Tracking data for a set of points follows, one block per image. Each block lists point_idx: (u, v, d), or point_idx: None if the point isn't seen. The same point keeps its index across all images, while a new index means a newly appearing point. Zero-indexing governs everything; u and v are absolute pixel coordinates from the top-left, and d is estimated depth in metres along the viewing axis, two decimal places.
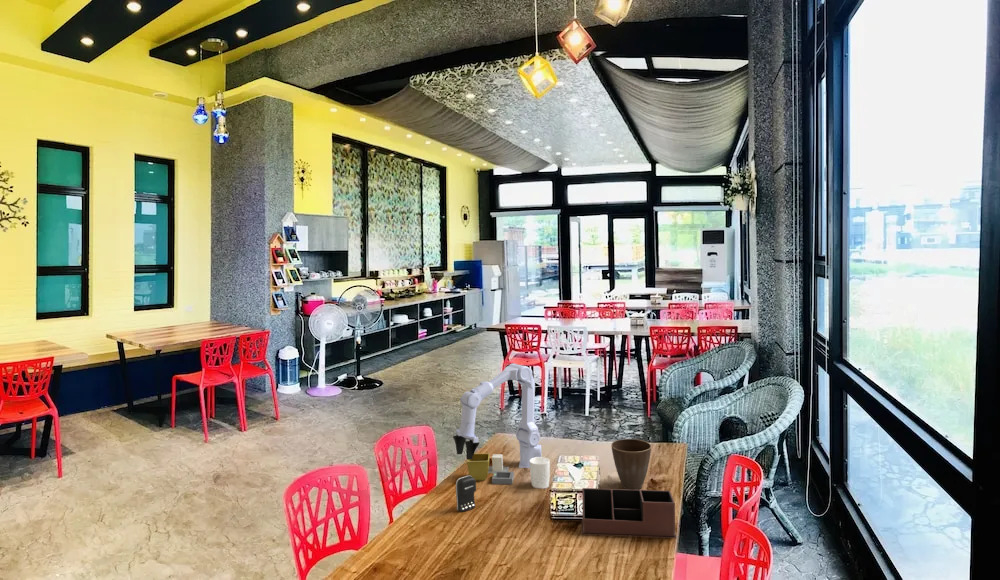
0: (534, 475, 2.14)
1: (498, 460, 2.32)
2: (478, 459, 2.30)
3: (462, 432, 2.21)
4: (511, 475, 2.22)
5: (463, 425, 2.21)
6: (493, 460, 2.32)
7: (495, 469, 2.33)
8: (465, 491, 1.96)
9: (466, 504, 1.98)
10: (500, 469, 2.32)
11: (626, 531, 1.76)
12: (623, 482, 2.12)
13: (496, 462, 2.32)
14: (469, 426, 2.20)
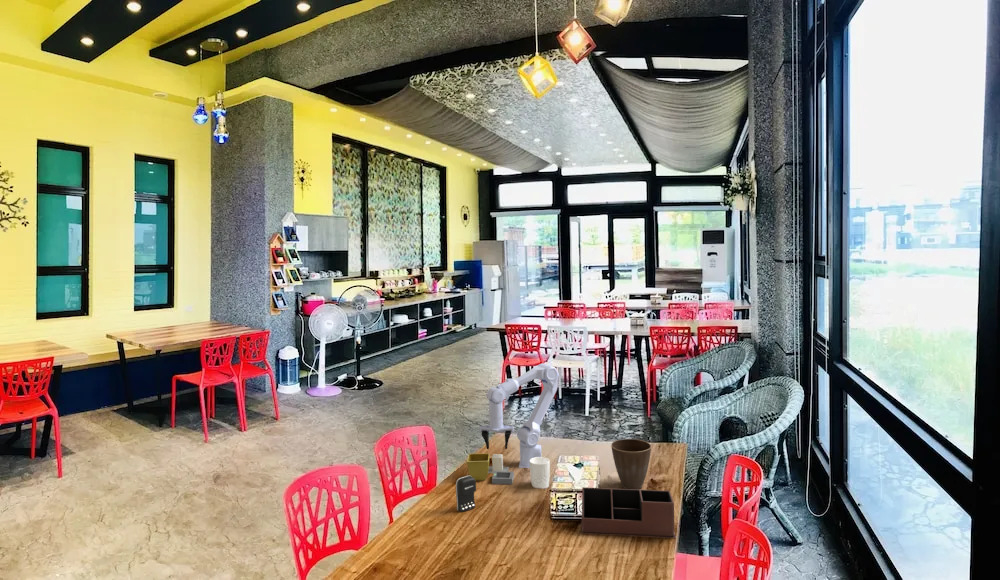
0: (534, 475, 2.14)
1: (498, 460, 2.32)
2: (478, 459, 2.30)
3: (497, 427, 2.31)
4: (511, 475, 2.22)
5: (497, 420, 2.31)
6: (493, 460, 2.32)
7: (495, 469, 2.33)
8: (465, 491, 1.96)
9: (466, 504, 1.98)
10: (500, 469, 2.32)
11: (625, 531, 1.76)
12: (623, 482, 2.12)
13: (496, 462, 2.32)
14: (502, 419, 2.32)
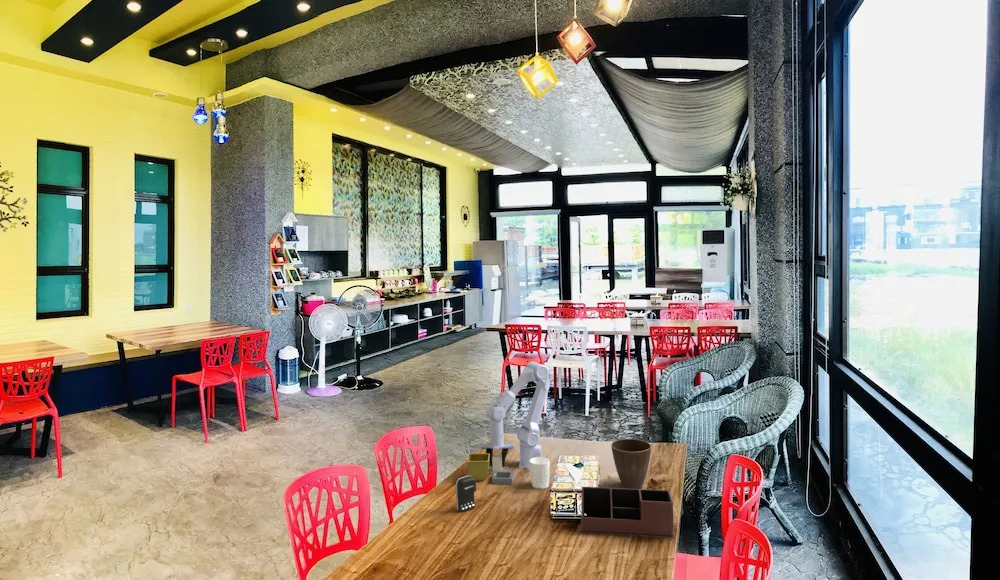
0: (534, 475, 2.14)
1: (498, 460, 2.32)
2: (478, 459, 2.30)
3: (498, 445, 2.31)
4: (511, 475, 2.22)
5: (498, 438, 2.31)
6: (493, 460, 2.32)
7: (495, 469, 2.33)
8: (465, 491, 1.96)
9: (466, 504, 1.98)
10: (500, 469, 2.32)
11: (624, 530, 1.77)
12: (623, 482, 2.12)
13: (496, 462, 2.32)
14: (502, 437, 2.33)
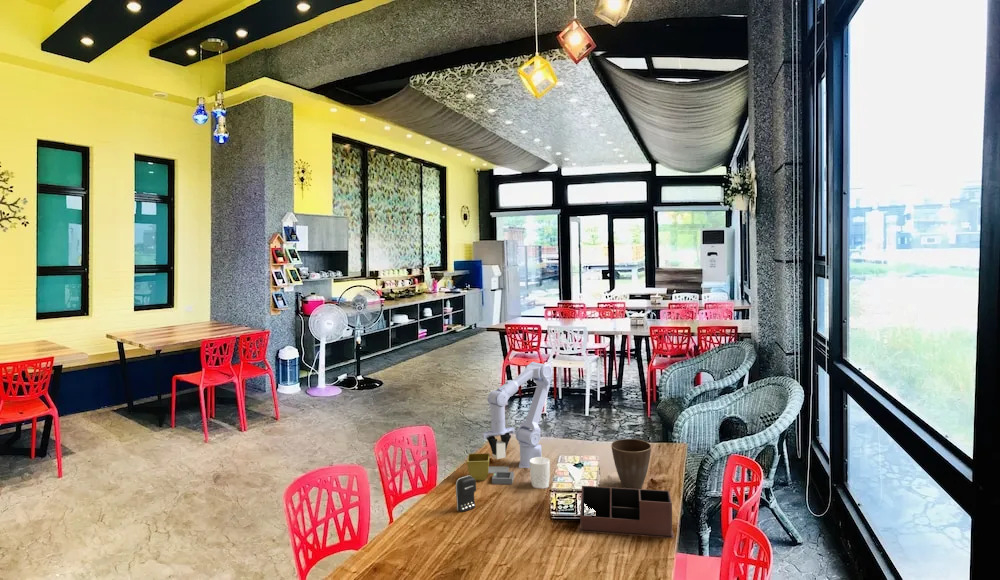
0: (534, 475, 2.14)
1: (502, 446, 2.28)
2: (478, 459, 2.30)
3: (503, 430, 2.27)
4: (511, 475, 2.22)
5: (503, 423, 2.27)
6: (497, 447, 2.27)
7: (499, 456, 2.27)
8: (465, 491, 1.96)
9: (466, 504, 1.98)
10: (504, 455, 2.28)
11: (623, 530, 1.77)
12: (623, 482, 2.12)
13: (500, 449, 2.28)
14: None
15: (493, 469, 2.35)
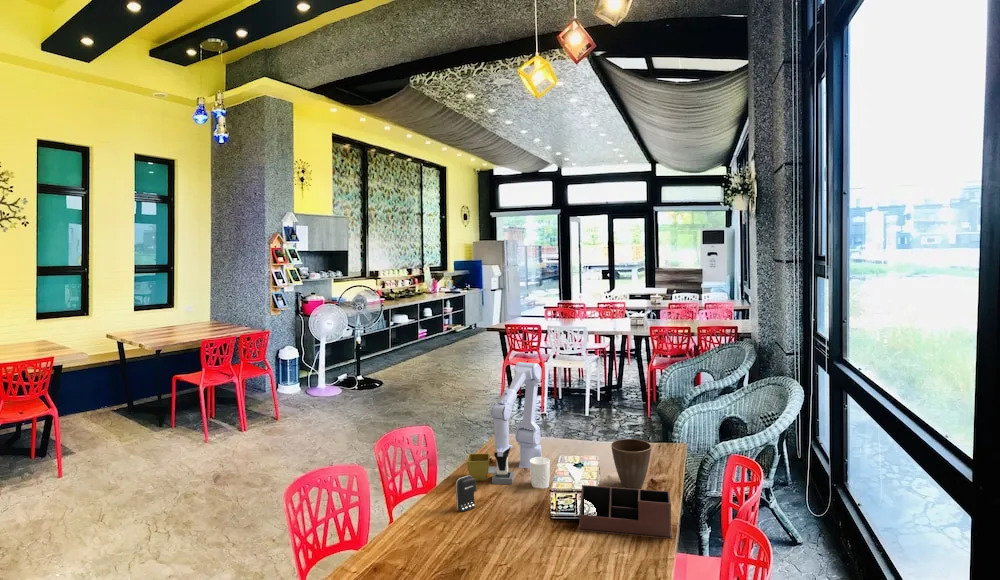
0: (534, 475, 2.14)
1: (507, 460, 2.23)
2: (478, 459, 2.30)
3: None
4: (511, 475, 2.22)
5: None
6: (506, 462, 2.21)
7: (507, 470, 2.22)
8: (465, 491, 1.96)
9: (466, 504, 1.98)
10: (507, 468, 2.24)
11: (621, 530, 1.77)
12: (623, 482, 2.12)
13: (507, 463, 2.22)
14: None
15: (493, 469, 2.35)
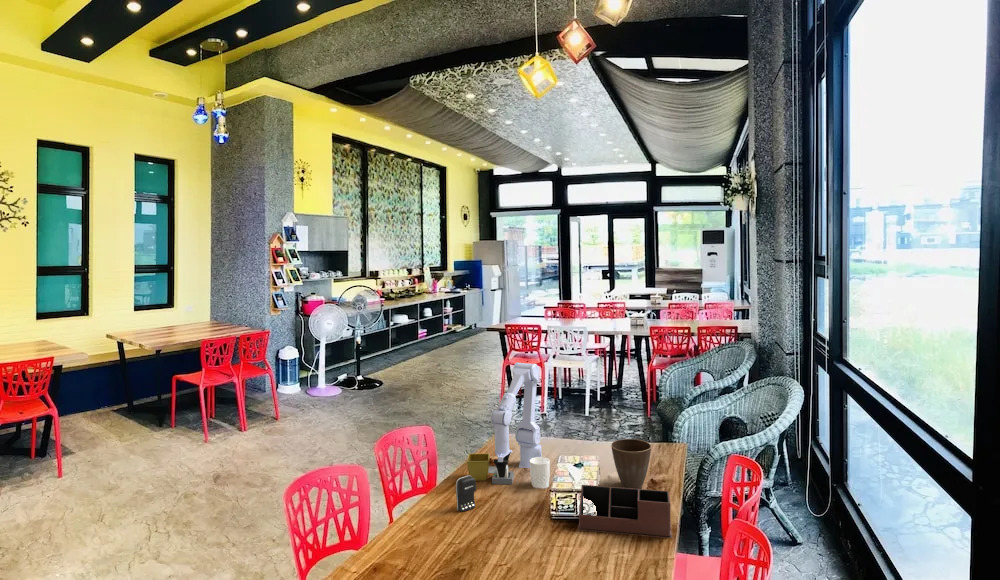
0: (534, 475, 2.14)
1: (507, 468, 2.23)
2: (478, 459, 2.30)
3: None
4: (511, 475, 2.22)
5: None
6: (507, 471, 2.21)
7: None
8: (465, 491, 1.96)
9: (466, 504, 1.98)
10: None
11: (621, 529, 1.78)
12: (623, 482, 2.12)
13: (507, 472, 2.22)
14: None
15: (493, 469, 2.35)
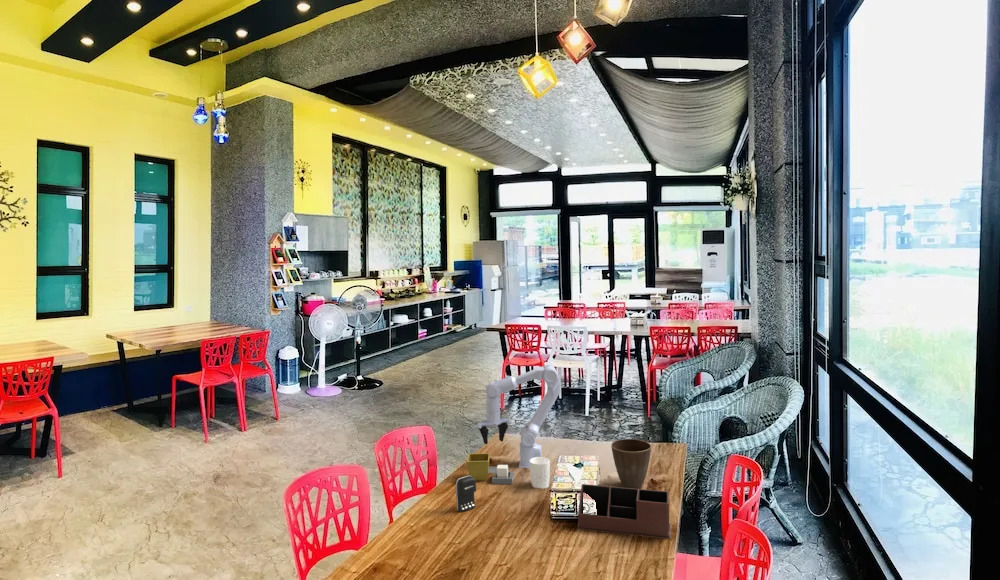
0: (534, 475, 2.14)
1: (507, 468, 2.23)
2: (478, 459, 2.30)
3: (498, 420, 2.37)
4: (511, 475, 2.22)
5: (498, 414, 2.37)
6: (507, 471, 2.21)
7: None
8: (465, 491, 1.96)
9: (466, 504, 1.98)
10: None
11: (620, 529, 1.78)
12: (623, 482, 2.12)
13: (507, 472, 2.22)
14: None
15: (493, 469, 2.35)
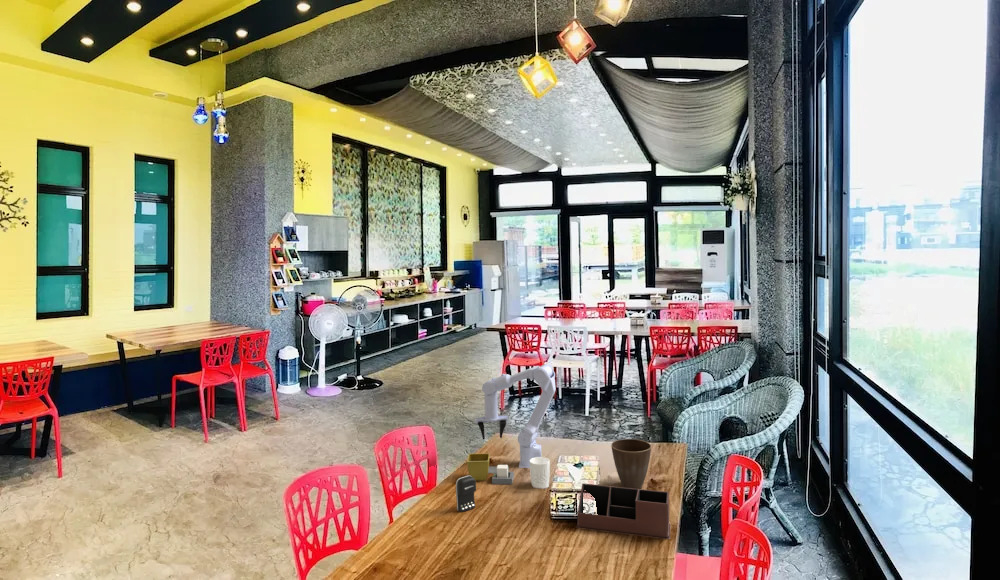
0: (534, 475, 2.14)
1: (507, 468, 2.23)
2: (478, 459, 2.30)
3: (494, 417, 2.42)
4: (511, 475, 2.22)
5: (494, 411, 2.42)
6: (507, 471, 2.21)
7: None
8: (465, 491, 1.96)
9: (466, 504, 1.98)
10: None
11: (619, 529, 1.78)
12: (623, 482, 2.12)
13: (507, 472, 2.22)
14: (497, 409, 2.44)
15: (493, 469, 2.35)
